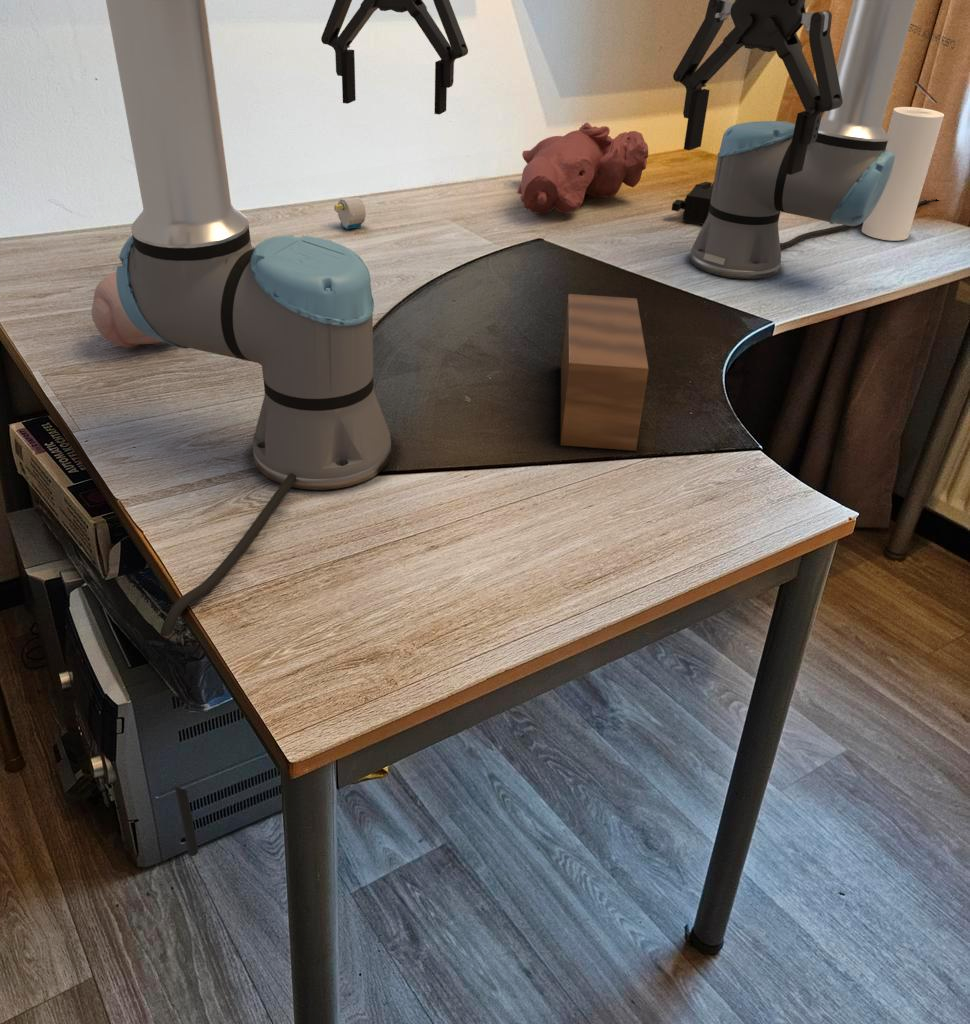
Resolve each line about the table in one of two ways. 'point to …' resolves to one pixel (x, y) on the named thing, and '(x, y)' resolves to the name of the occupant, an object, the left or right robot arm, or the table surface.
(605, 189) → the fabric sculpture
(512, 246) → the table surface
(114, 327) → the shallot
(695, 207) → the toy
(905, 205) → the white tall cylinder
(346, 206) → the electric motor
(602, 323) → the box
